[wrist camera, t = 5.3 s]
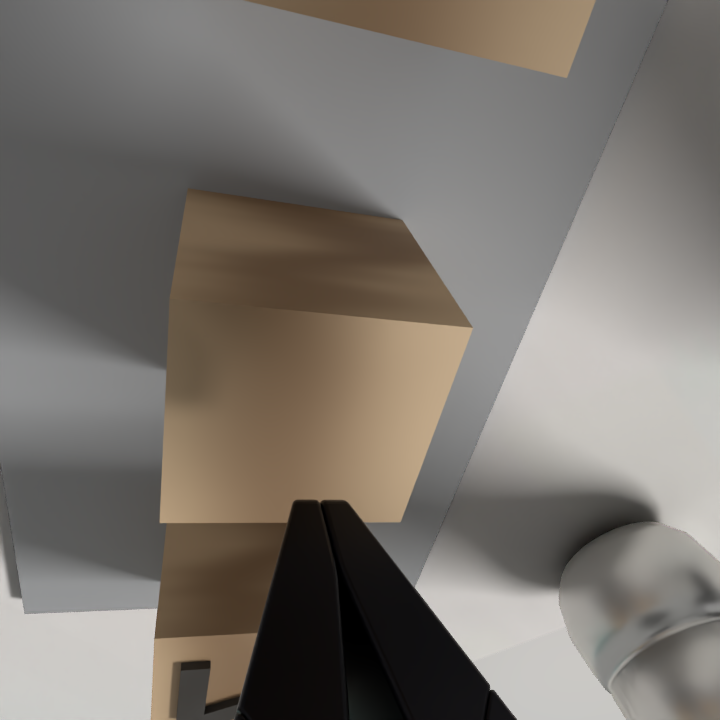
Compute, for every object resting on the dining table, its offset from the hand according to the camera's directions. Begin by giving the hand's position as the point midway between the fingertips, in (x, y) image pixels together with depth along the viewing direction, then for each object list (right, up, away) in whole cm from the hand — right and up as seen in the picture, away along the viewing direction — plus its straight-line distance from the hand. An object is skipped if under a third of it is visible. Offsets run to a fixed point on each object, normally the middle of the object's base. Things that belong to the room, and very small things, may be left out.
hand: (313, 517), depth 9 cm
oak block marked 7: (-3, -3, +10) cm, 11 cm away
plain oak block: (-1, +4, +6) cm, 7 cm away
